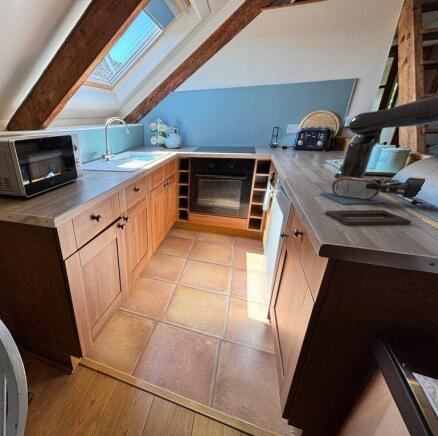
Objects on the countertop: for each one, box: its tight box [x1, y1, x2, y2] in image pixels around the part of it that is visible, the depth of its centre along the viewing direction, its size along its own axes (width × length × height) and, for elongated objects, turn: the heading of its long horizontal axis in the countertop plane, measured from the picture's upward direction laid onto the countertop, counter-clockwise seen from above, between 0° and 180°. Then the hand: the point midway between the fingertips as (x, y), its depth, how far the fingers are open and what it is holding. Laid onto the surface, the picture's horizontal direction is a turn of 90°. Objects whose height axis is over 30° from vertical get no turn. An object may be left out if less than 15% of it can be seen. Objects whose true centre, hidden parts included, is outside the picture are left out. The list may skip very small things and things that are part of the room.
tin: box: [331, 177, 380, 200], centre depth 99 cm, size 15×3×8 cm, turn 53°
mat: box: [320, 192, 386, 205], centre depth 101 cm, size 14×16×1 cm
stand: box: [325, 209, 412, 226], centre depth 82 cm, size 10×20×1 cm, turn 89°
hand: (365, 183), depth 97 cm, fingers open, 8 cm apart
